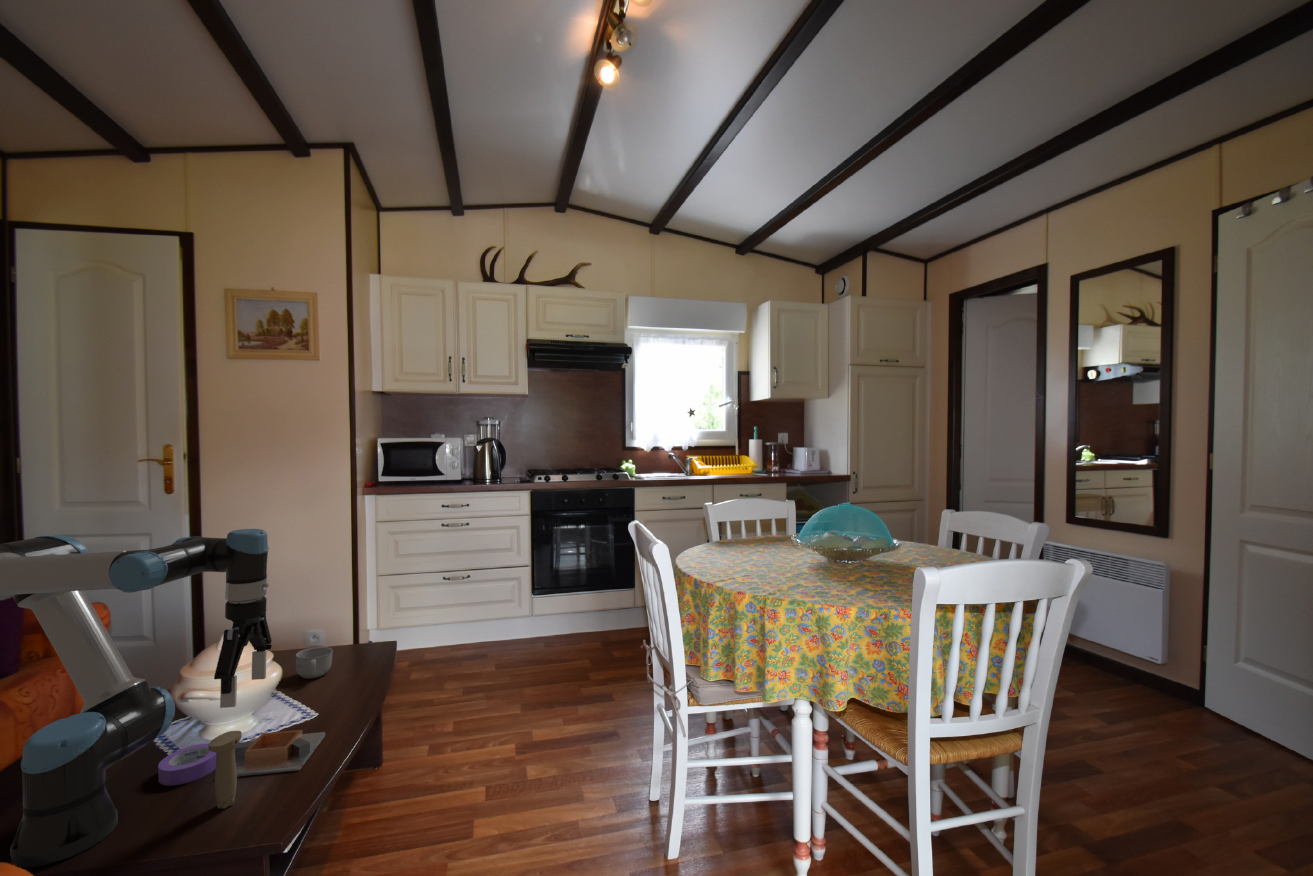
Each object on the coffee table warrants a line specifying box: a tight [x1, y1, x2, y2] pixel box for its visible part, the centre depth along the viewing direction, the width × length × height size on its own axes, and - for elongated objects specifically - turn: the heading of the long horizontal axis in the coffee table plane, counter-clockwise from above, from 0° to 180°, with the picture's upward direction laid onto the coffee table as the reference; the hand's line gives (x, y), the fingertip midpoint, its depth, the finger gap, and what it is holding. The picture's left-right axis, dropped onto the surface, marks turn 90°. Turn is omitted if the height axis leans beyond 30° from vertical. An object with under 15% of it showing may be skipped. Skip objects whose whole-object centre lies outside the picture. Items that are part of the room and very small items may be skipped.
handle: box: [208, 730, 243, 810], centre depth 125 cm, size 5×6×15 cm
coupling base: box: [235, 729, 326, 778], centre depth 144 cm, size 18×16×4 cm
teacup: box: [295, 646, 334, 679], centre depth 191 cm, size 14×11×8 cm
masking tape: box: [157, 742, 216, 787], centre depth 138 cm, size 12×12×4 cm
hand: (244, 692), depth 127 cm, fingers open, 13 cm apart
